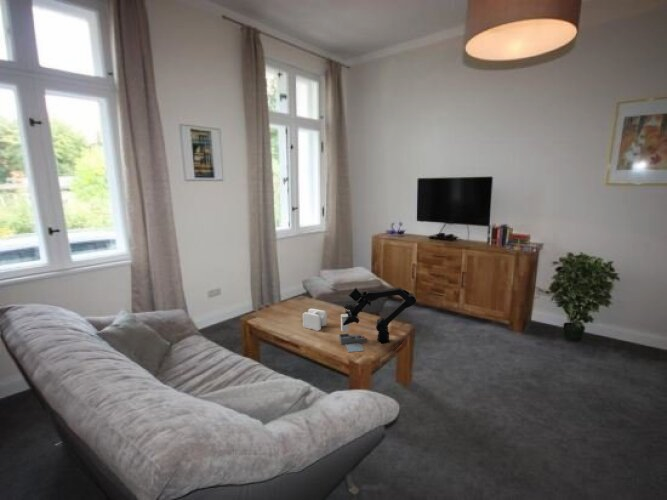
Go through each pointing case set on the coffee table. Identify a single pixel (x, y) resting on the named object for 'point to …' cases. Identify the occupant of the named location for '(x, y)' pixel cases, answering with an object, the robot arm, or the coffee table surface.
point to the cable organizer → (314, 319)
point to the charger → (343, 319)
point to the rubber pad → (354, 347)
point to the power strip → (351, 338)
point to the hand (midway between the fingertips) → (342, 323)
